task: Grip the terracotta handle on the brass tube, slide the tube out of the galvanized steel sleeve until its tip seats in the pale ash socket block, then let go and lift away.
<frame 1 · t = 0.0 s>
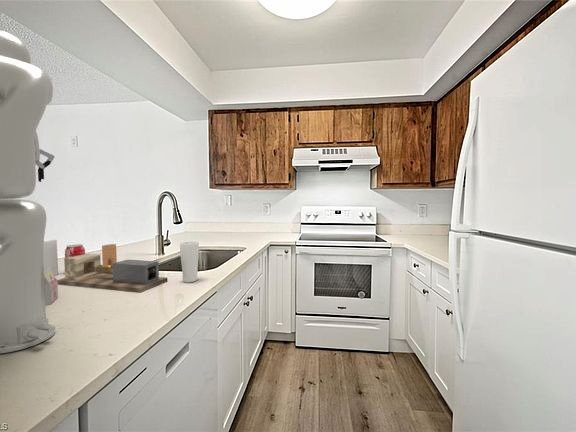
hand: (19, 180, 88), 37 cm above the countertop, tool pointing down, fingers open, 9 cm apart
soda can: (76, 273, 126), on the countertop
walnut base board: (112, 282, 110), on the countertop
drinking glass: (190, 281, 113), on the countertop
supplement box: (40, 276, 120), on the countertop
galvanized steel sleeve: (136, 281, 108), resting on walnut base board
ash socket block: (83, 276, 114), resting on walnut base board
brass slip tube: (122, 260, 109), point 9 cm above the countertop, slide at 0.0 cm
white angular box: (47, 302, 90), on the countertop
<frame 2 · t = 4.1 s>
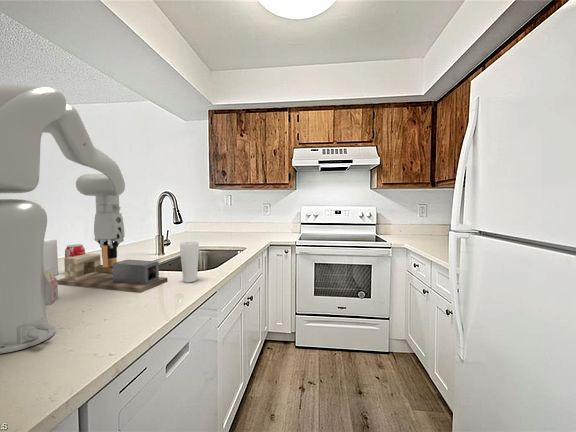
hand: (109, 257, 110), 10 cm above the countertop, tool pointing down, fingers closed on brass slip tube, 2 cm apart
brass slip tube: (122, 260, 109), point 9 cm above the countertop, slide at 0.0 cm, touching gripper
everything else where it was.
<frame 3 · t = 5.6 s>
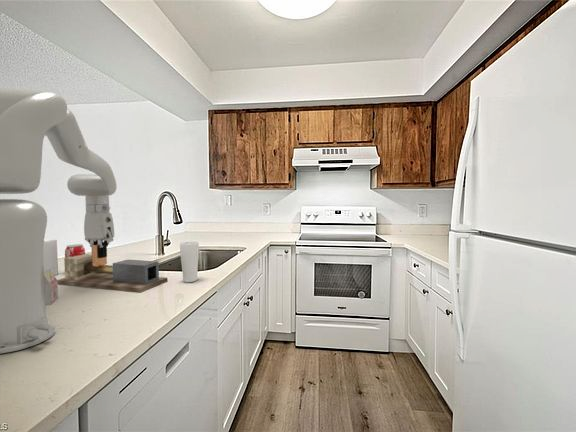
hand: (99, 256, 111), 10 cm above the countertop, tool pointing down, fingers closed on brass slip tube, 2 cm apart
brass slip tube: (112, 259, 110), point 9 cm above the countertop, slide at 4.8 cm, touching gripper
everything else where it was.
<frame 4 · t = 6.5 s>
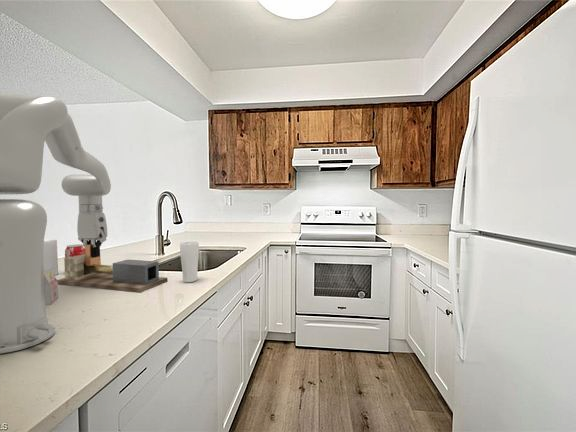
hand: (92, 256, 112), 10 cm above the countertop, tool pointing down, fingers closed on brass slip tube, 2 cm apart
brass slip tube: (105, 259, 111), point 9 cm above the countertop, slide at 8.1 cm, touching gripper
everything else where it was.
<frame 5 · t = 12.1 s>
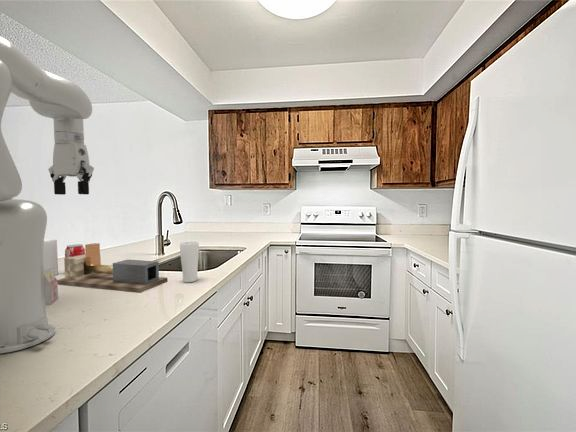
hand: (71, 194, 93), 33 cm above the countertop, tool pointing down, fingers open, 9 cm apart
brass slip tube: (105, 259, 111), point 9 cm above the countertop, slide at 8.0 cm
everything else where it was.
at the end: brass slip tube slide at 8.0 cm; the gripper is holding nothing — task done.
